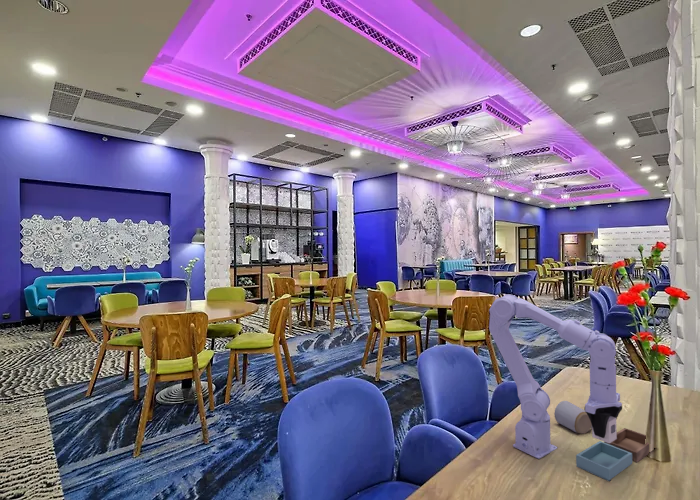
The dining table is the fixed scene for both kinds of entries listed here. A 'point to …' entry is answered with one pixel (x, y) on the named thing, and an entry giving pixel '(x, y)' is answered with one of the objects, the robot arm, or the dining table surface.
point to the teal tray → (603, 460)
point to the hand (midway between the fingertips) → (603, 433)
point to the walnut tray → (632, 443)
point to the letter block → (608, 431)
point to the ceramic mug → (572, 417)
